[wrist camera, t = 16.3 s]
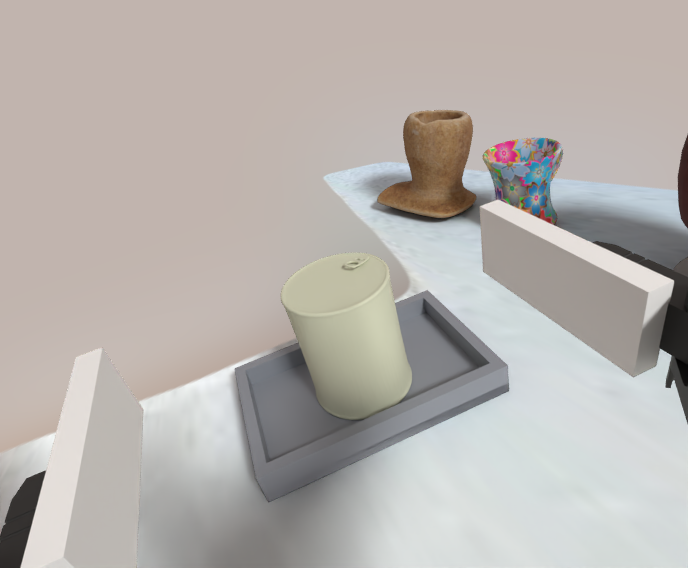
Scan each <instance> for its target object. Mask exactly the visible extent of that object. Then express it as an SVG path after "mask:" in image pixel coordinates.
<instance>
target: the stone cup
mask: <svg viewBox="0 0 688 568" xmlns="http://www.w3.org/2000/svg"><path fill="white" fill-rule="evenodd" d="M472 134H473V125H472V120H471V118H470V116H469V115H468V114H467V113H465V112H462V111H453V110H434V111H420V112H415V113H412V114H410V115H409V116H408V118H407V120H406V121H405V124H404V130H403V136H404V137H403V138H404V145H405V152H406V156H407V160H408V163H409V166H410V170H411V174H412V181H408V182H401V183H397V184H394V185H392V186H390V187H388V188H387V189H385V190H384V191H383V192H382V193H381V194H380V195H379V197H378V200H377V202H378V203H380V204H383V205H386V206H390V207H393V208H396V209H400V210H403V211H407V212H411V213H415V214H419V215H424V216H430V217H435V218H447V217H451V216H455V215H457V214H459V213H461V212H463V211H465V210H467V209H468V208H469V207H471V206H472V205H473V203H474V202H475V200H476V195H475V194H474V193H472V192H470V191H469V190H467V189H465V188H464V187H463V183H462V176H463V172H464V168H465V165H466V162H467V159H468V155H469V151H470V145H471V141H472Z"/></svg>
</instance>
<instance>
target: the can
mask: <svg viewBox="0 0 688 568" xmlns="http://www.w3.org/2000/svg"><path fill="white" fill-rule="evenodd" d="M281 301H282V304H283V305H284V307H285V309H286V312H287V314H288V316H289V319H290V322H291V324H292V327H293V329H294V332H295V334H296V337H297V340H298V342H299V345H300V348H301V350H302V353H303V356H304V358H305V361H306V364H307V366H308V369H309V372H310V374H311V377H312V380H313V383H314V386H315V389H316V396H317V399H318V401H319V403H320V405H321V406H322V407H323V408H324V409H325V410H326V411H327V412H328V413H330V414H332V415H333V416H336V417H338V418H342V419H347V420H363V419H366V418H369V417H371V416H373V415H375V414H378V413H380V412H382V411H384V410H386V409H389V408H391V407H393V406H395V405H398V404H399V403H400V402H401V401H402V400H403V398H404V397H405V396H406V394H407V393H408V391H409V389H410V386H411V383H412V371H411V368H410V365H409V363H408V360H407V356H406V352H405V348H404V344H403V339H402V335H401V330H400V325H399V321H398V316H397V311H396V306H395V302H394V297H393V292H392V287H391V281H390V272H389V268H388V266H387V264H386V263H385V262H384V261H383V260H382V259H380V258H378V257H376V256H374V255H370V254H365V253H344V254H337V255H332V256H328V257H325V258H322V259H319V260H317V261H314V262H312V263H310V264H308V265H306V266H304V267H303V268H301V269H300V270H298V271H297V272H295V273H294V274H293V275H292V276H291V277H290V278H289V279H288V280H287V281H286V283H285V284H284V286H283V288H282V291H281Z"/></svg>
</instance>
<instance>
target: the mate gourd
mask: <svg viewBox="0 0 688 568" xmlns="http://www.w3.org/2000/svg"><path fill="white" fill-rule="evenodd" d="M678 201H679V210H680V215H681V219H682V221H683V223H684V224H685V226H686V227H687V228H688V135H687V138H686V141H685V144H684V147H683V150H682V154H681V160H680V167H679V173H678ZM673 271H675V272H678V273H680V274H682V275H684V276H687V277H688V257H687V258H685V259H684V260H682V261H680V262H679V263H678V264H677V265H676V266H675V268H674V270H673Z"/></svg>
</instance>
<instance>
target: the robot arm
mask: <svg viewBox="0 0 688 568" xmlns="http://www.w3.org/2000/svg"><path fill="white" fill-rule="evenodd" d="M480 223H481V241H482V259H483V272H484V273H486V274H487V275H489V276H490V277H492V278H493V279H494V280H496V281H497V282H499V283H500V284H502V285H503V286H504V287H506V288H507V289H509V290H510V291H511V292H513V293H514V294H516V295H517V296H519V297H520V298H521V299H523V300H524V301H526V302H527V303H528V304H530V305H531V306H533V307H534V308H536V309H537V310H538V311H540V312H541V313H543V314H544V315H546V316H547V317H548V318H550V319H551V320H553V321H554V322H555V323H557V324H558V325H560V326H561V327H563V328H564V329H565V330H567V331H568V332H570V333H571V334H573V335H574V336H575V337H577V338H578V339H580V340H581V341H582V342H584V343H585V344H587V345H588V346H590V347H591V348H592V349H594V350H595V351H597V352H598V353H599V354H601V355H602V356H604V357H605V358H607V359H608V360H609V361H611V362H612V363H614V364H615V365H617V366H618V367H619V368H621V369H622V370H624V371H625V372H626V373H628V374H629V375H631V376H632V377H635V376H637V375H639V374H641V373H643V372H645V371H647V370H649V369H651V368H653V367H655V366H656V365H657V360H658V355H659V351H660V349H662V350H664V351H665V352H667V353H669V354H670V355H672V357H671V361H670V366H669V370H668V374H667V378H666V388H671V384H672V381H673V380H675V384H676V387H677V390H678V393H679V397H680V400H681V403H682V407H683V410H684V413H685V416H686V420H687V423H688V277H687V276H684V275H682V274H680V273H678V272H675V271H673V270H671V269H669V268H666V267H664V266H662V265H660V264H657V263H655V262H653V261H651V260H645V258H644V257H642V256H639V255H637V254H632V252H630V251H628V250H626V249H623V248H621V247H619V246H617V245H613V244H608V243H603V242H598V241H596V242H593V243H591V242H589V241H587V240H585V239H583V238H581V237H578V236H576V235H574V234H572V233H570V232H568V231H565V230H563V229H561V228H559V227H557V226H555V225H552V224H550V223H548V222H546V221H544V220H542V219H539V218H537V217H535V216H533V215H531V214H529V213H526V212H524V211H522V210H520V209H518V208H515V207H513V206H511V205H509V204H507V203H505V202H502V201H500V200H495V201H493V202H490V203H487V204H484V205H482V206H480ZM142 431H143V408H142V407H141V405H140V404H139V402H138V401H137V399H136V398H135V396H134V394H133V393H132V391H131V390H130V388H129V387H128V385H127V384H126V382H125V381H124V379H123V378H122V376H121V375H120V373H119V372H118V370H117V369H116V367H115V366H114V364H113V362H112V361H111V359H110V358H109V356H108V355H107V353H106V352H105V350H104V349H103V347H102V348H99V349H96V350H94V351H91V352H88V353H85V354H83V355H80V356H77V357H76V359H75V363H74V367H73V371H72V375H71V378H70V383H69V386H68V390H67V394H66V397H65V401H64V405H63V409H62V413H61V416H60V420H59V424H58V428H57V431H56V435H55V439H54V443H53V447H52V450H51V454H50V458H49V462H48V465H47V469H46V471H43V472H41V473H38V474H36V475H33V476H31V477H29V478H26V480H25V481H24V483H23V484H22V486H21V487H20V489H19V490H18V492H17V493H16V495H15V496H14V498H13V499H12V501H11V504H10V507H9V510H8V513H7V516H6V519H5V523H6V525H4V526H3V529H2V532H1V535H0V568H137V549H138V525H139V501H140V478H141V454H142Z"/></svg>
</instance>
